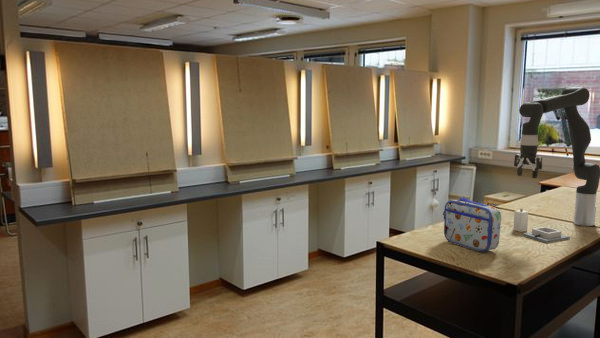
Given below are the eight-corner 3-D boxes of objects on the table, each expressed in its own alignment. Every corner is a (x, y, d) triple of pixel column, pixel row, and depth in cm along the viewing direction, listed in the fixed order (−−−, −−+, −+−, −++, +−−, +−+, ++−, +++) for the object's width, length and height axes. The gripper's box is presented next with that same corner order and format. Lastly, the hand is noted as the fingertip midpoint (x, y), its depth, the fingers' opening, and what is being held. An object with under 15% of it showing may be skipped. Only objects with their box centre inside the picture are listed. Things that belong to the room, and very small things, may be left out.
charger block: (519, 228, 241) (521, 207, 239) (527, 230, 237) (528, 209, 235) (513, 229, 239) (514, 208, 237) (520, 231, 235) (522, 210, 233)
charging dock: (546, 231, 234) (546, 224, 233) (569, 238, 222) (570, 231, 222) (523, 235, 228) (523, 228, 227) (546, 243, 216) (546, 235, 215)
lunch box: (437, 240, 222) (439, 195, 218) (452, 236, 227) (454, 193, 224) (487, 256, 199) (490, 206, 195) (502, 252, 204) (505, 203, 201)
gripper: (547, 144, 218) (545, 178, 221) (522, 142, 231) (520, 174, 234) (536, 145, 215) (533, 179, 218) (511, 143, 228) (509, 175, 231)
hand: (526, 176), depth 226 cm, fingers open, 8 cm apart
